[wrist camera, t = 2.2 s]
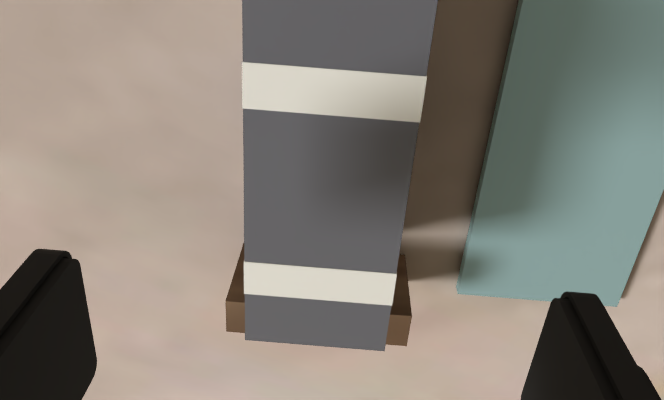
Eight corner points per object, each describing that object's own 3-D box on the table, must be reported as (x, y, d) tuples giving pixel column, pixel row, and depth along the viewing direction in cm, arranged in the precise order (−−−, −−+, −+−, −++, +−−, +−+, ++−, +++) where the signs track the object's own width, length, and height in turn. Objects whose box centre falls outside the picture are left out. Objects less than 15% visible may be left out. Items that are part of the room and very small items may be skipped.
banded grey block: (278, -55, 19) (240, -20, 13) (414, -45, 19) (439, -4, 13) (272, 224, 25) (244, 340, 19) (378, 232, 25) (384, 351, 19)
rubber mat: (545, -122, 18) (549, -121, 18) (770, -104, 18) (780, -103, 18) (455, 286, 26) (457, 293, 26) (612, 299, 26) (616, 306, 26)
